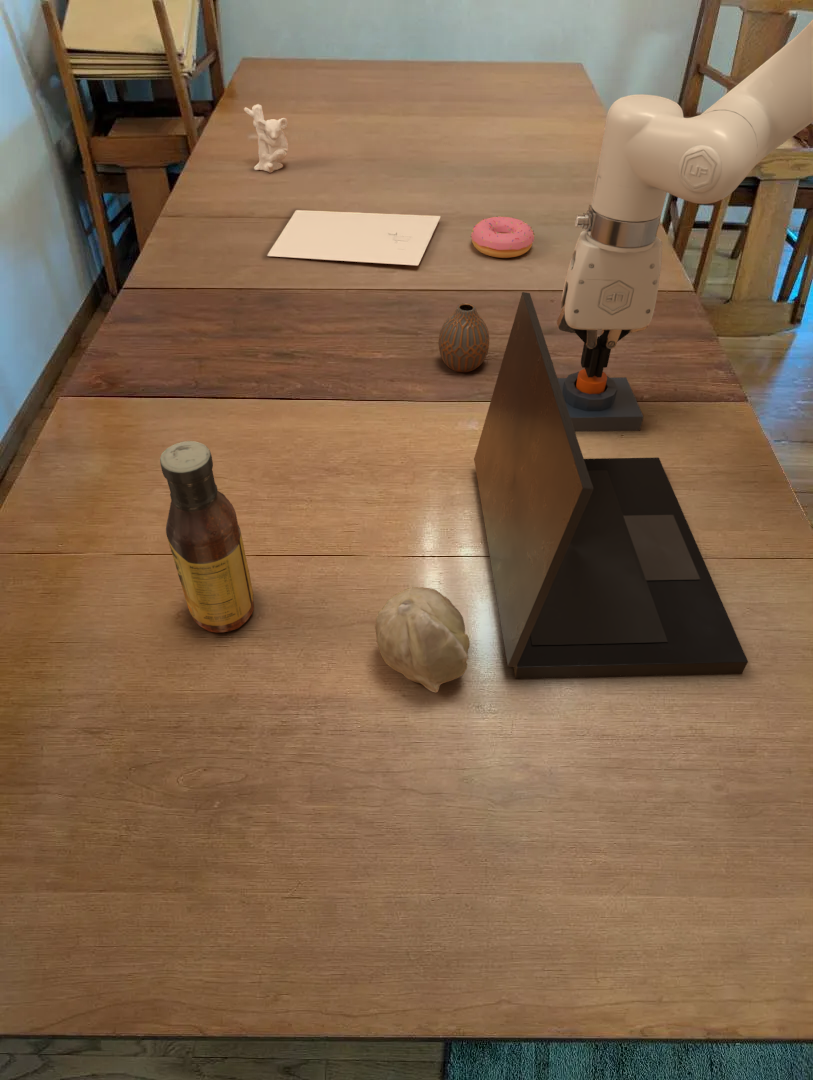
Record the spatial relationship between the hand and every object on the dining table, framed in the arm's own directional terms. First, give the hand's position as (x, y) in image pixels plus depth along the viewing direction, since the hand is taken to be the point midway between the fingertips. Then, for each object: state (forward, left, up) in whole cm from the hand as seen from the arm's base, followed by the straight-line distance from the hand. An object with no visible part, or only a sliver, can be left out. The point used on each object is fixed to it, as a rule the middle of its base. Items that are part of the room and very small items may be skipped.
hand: (592, 371), depth 99 cm
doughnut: (-24, -44, -6) cm, 50 cm away
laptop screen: (+26, +15, +6) cm, 31 cm away
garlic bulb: (+42, +20, -6) cm, 47 cm away
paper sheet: (-5, -62, -6) cm, 62 cm away
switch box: (0, 0, -6) cm, 6 cm away
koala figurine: (-10, -101, -6) cm, 102 cm away
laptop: (+19, +20, -6) cm, 28 cm away
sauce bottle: (+54, +4, -6) cm, 54 cm away
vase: (+6, -18, -6) cm, 20 cm away
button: (0, 0, -2) cm, 2 cm away
